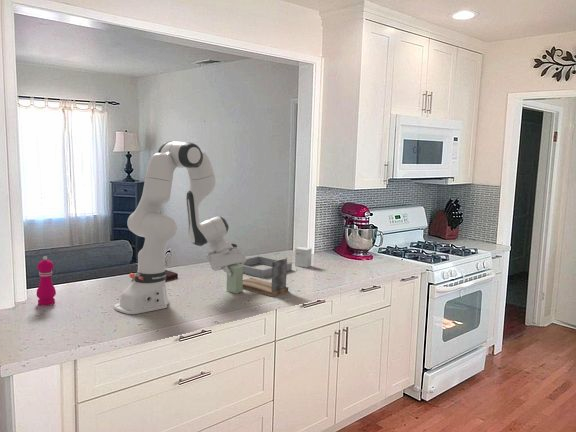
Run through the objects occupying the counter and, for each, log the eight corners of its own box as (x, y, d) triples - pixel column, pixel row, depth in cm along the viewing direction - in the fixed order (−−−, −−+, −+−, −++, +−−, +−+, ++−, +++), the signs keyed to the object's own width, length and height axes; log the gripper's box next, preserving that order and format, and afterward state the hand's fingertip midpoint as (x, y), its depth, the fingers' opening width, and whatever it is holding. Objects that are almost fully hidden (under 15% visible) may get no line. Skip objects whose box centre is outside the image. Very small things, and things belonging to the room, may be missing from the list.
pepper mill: (43, 307, 202) (42, 259, 199) (33, 303, 206) (31, 256, 203) (59, 303, 208) (58, 256, 205) (49, 299, 212) (48, 253, 209)
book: (178, 279, 254) (178, 272, 253) (147, 286, 238) (147, 280, 238) (161, 274, 261) (161, 268, 261) (130, 282, 245) (130, 275, 245)
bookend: (272, 296, 228) (273, 262, 226) (234, 286, 243) (235, 254, 241) (288, 291, 238) (289, 258, 236) (250, 281, 252) (251, 250, 250)
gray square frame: (262, 278, 260) (262, 270, 259) (228, 269, 275) (228, 262, 275) (291, 269, 280) (292, 262, 279) (258, 262, 295) (258, 255, 294)
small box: (311, 266, 290) (312, 248, 289) (306, 267, 286) (307, 249, 284) (299, 264, 295) (300, 246, 293) (294, 265, 290) (295, 247, 289)
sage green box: (235, 293, 231) (236, 268, 229) (226, 290, 235) (227, 266, 233) (242, 291, 234) (243, 266, 233) (233, 289, 238) (233, 264, 236)
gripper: (208, 249, 228) (223, 274, 223) (239, 243, 244) (254, 266, 239) (201, 257, 231) (216, 281, 227) (232, 251, 247) (246, 274, 243)
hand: (235, 274), depth 233 cm, fingers closed on sage green box, 4 cm apart
